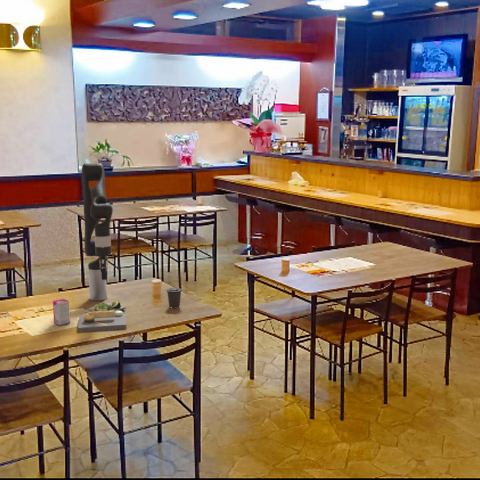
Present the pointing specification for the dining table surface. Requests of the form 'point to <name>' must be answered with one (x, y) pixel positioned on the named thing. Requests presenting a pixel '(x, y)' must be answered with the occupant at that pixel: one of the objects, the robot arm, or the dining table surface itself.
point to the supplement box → (61, 312)
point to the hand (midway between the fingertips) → (104, 277)
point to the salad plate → (107, 307)
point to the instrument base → (103, 323)
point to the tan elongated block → (98, 315)
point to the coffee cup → (174, 297)
